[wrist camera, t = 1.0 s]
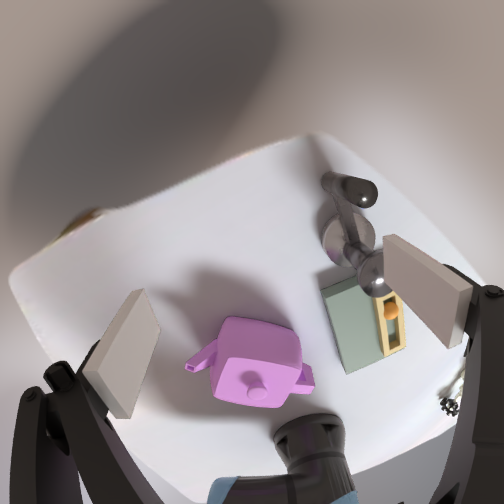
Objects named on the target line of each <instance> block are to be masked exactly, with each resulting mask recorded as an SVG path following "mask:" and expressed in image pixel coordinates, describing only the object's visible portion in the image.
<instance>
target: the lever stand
mask: <svg viewBox="0 0 504 504" xmlns="http://www.w3.org/2000/svg"><path fill="white" fill-rule="evenodd" d="M321 293H322V297H323V300H324V303H325V306H326V310H327V313H328V316H329V320H330V323H331V327H332V330H333V334H334V337H335V341H336V344H337V348H338V351H339V355H340V359H341V362H342V366H343V368H344V370H345V372H346V375H347V374H350V373H352V372H354V371H357V370H359V369H361V368H364V367H366V366H368V365H370V364H373V363H375V362H377V361H379V360H381V359H383V358H386V357H388V356H390V355H392V354H394V353H396V352H398V351H400V350H402V349H404V348H405V347H406V339H405V325H404V314H403V304H402V299H401V298H400V297H399V296H398V295H397V294H396V293H395V292H394V291H392V292H391V293H389V294H388V295H386V296H384V297H380V298H373V297H370V296H368V295H367V294H366V293H365V292H364V291H363V290H362V289H361V288H360V286H359V284H358V282H357V276H354V277H352V278H349V279H347V280H345V281H342V282H340V283H337V284H335V285H332V286H330V287H328V288H325V289H323V290H321Z"/></svg>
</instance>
